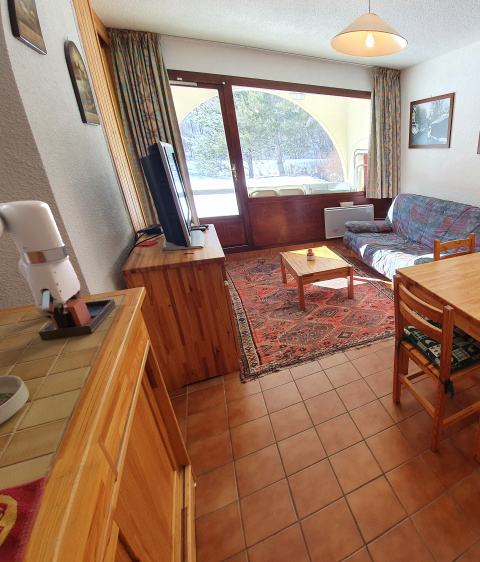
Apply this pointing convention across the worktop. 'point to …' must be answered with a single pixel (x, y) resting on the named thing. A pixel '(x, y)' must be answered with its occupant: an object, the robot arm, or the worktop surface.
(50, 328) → the sorting tray
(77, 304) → the red block
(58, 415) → the worktop surface
